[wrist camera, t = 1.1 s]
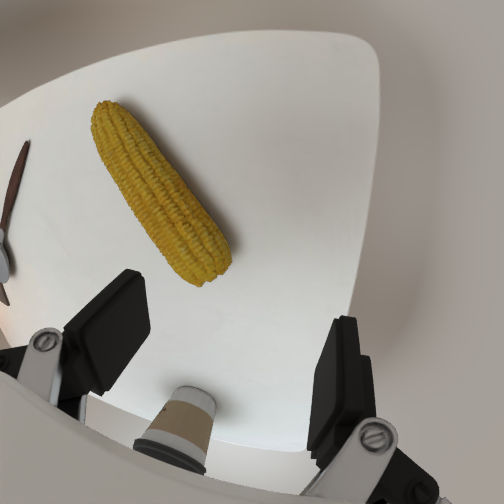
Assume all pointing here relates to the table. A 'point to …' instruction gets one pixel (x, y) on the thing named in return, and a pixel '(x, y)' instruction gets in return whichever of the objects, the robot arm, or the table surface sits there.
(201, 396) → the coffee cup
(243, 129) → the table surface
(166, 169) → the food
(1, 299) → the spatula
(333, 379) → the robot arm
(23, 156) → the spoon
